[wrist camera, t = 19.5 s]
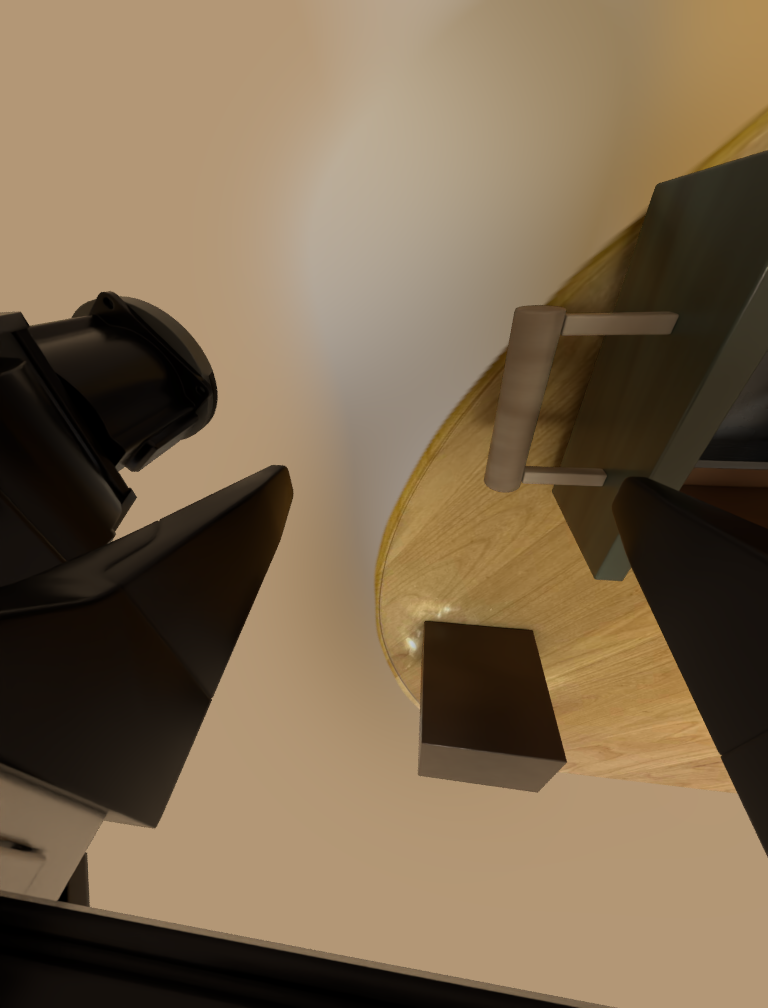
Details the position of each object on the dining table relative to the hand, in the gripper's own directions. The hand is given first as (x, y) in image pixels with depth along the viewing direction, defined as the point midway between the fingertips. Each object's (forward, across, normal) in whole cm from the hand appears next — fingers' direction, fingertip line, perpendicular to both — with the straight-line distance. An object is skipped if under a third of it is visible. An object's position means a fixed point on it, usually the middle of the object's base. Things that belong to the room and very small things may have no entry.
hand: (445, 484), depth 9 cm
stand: (+11, -5, +27) cm, 30 cm away
